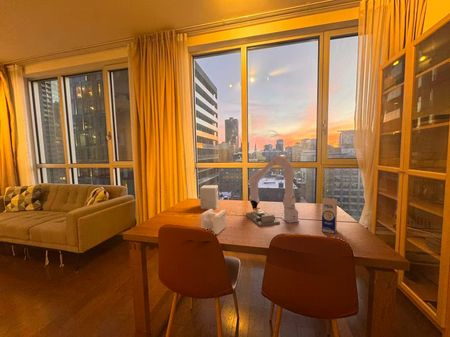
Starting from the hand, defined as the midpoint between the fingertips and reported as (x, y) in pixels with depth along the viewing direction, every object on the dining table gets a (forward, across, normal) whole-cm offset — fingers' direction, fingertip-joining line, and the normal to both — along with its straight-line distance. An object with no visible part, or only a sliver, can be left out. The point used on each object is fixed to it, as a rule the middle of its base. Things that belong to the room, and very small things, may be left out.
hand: (254, 210), depth 157 cm
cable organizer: (+3, +22, -35) cm, 41 cm away
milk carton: (+3, +44, +28) cm, 52 cm away
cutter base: (+3, +13, 0) cm, 13 cm away
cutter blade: (+1, +8, 0) cm, 8 cm away
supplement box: (+3, -30, -28) cm, 41 cm away
